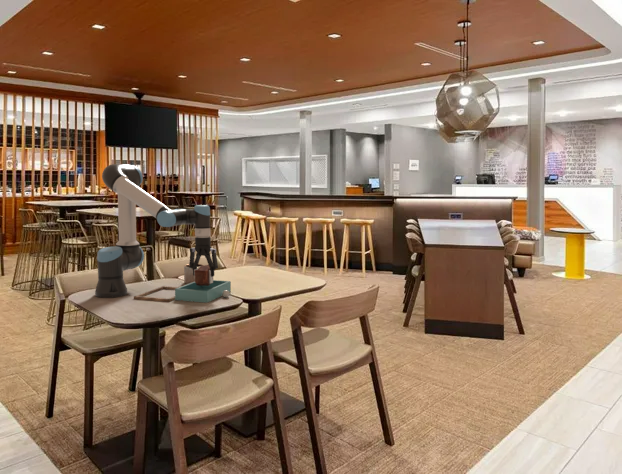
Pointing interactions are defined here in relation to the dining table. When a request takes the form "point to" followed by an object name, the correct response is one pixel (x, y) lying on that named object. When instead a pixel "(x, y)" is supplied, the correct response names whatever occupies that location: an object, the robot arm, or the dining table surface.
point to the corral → (153, 297)
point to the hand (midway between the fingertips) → (203, 282)
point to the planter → (189, 274)
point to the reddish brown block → (202, 276)
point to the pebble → (225, 293)
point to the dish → (202, 291)
